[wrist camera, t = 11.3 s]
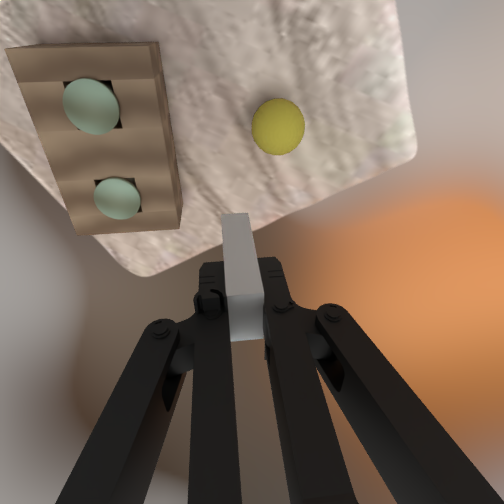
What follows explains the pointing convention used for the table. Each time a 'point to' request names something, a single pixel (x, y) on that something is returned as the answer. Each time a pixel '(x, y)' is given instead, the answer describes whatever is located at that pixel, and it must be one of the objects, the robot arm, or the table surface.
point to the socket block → (109, 144)
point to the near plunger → (91, 105)
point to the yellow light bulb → (278, 126)
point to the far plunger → (117, 197)
